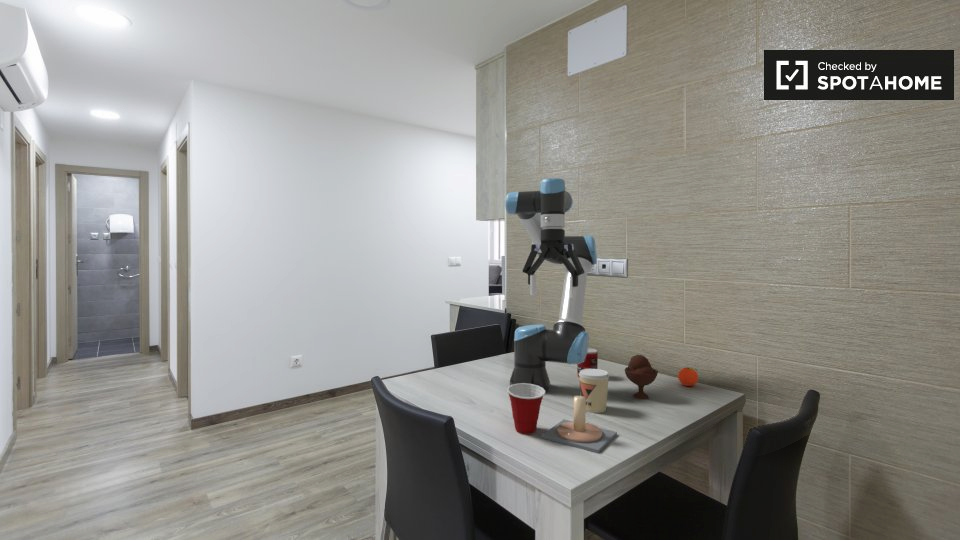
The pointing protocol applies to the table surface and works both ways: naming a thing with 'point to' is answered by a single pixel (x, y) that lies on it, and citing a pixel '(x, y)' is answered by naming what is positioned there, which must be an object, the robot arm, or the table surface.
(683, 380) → the clementine
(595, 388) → the coffee cup
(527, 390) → the plastic cup
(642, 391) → the ice cream bowl
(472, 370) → the table surface
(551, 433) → the mat
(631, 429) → the table surface
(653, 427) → the table surface
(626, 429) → the table surface
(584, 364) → the canned food
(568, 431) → the lid
